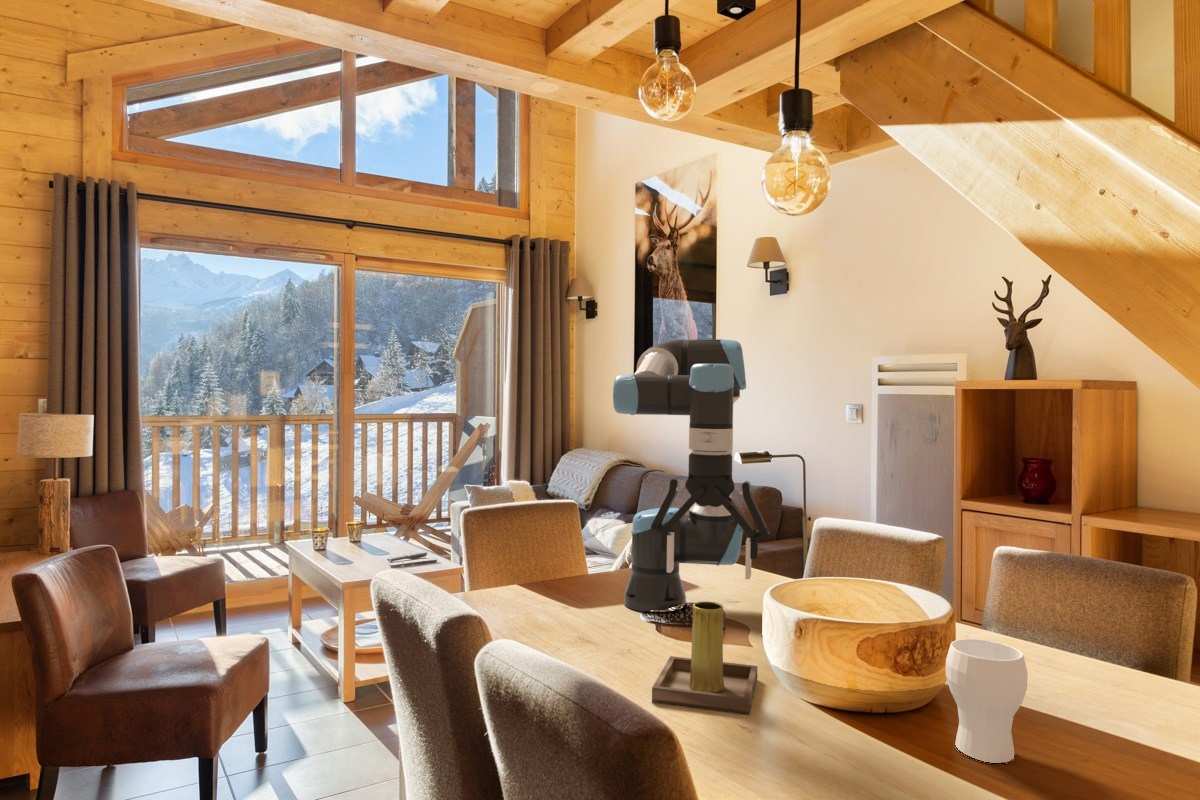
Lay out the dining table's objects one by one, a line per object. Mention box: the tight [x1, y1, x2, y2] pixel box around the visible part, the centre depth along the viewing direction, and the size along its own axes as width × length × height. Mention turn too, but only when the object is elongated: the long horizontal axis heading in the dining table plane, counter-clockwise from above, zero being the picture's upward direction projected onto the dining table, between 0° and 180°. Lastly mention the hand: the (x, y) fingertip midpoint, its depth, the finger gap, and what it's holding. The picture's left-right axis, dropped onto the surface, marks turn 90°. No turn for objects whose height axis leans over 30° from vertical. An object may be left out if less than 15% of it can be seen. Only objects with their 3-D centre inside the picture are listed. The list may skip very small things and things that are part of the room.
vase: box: [689, 601, 724, 693], centre depth 132 cm, size 6×6×14 cm
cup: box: [945, 638, 1028, 764], centre depth 111 cm, size 11×11×15 cm
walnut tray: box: [651, 655, 758, 716], centre depth 132 cm, size 16×16×2 cm
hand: (708, 574), depth 132 cm, fingers open, 13 cm apart
